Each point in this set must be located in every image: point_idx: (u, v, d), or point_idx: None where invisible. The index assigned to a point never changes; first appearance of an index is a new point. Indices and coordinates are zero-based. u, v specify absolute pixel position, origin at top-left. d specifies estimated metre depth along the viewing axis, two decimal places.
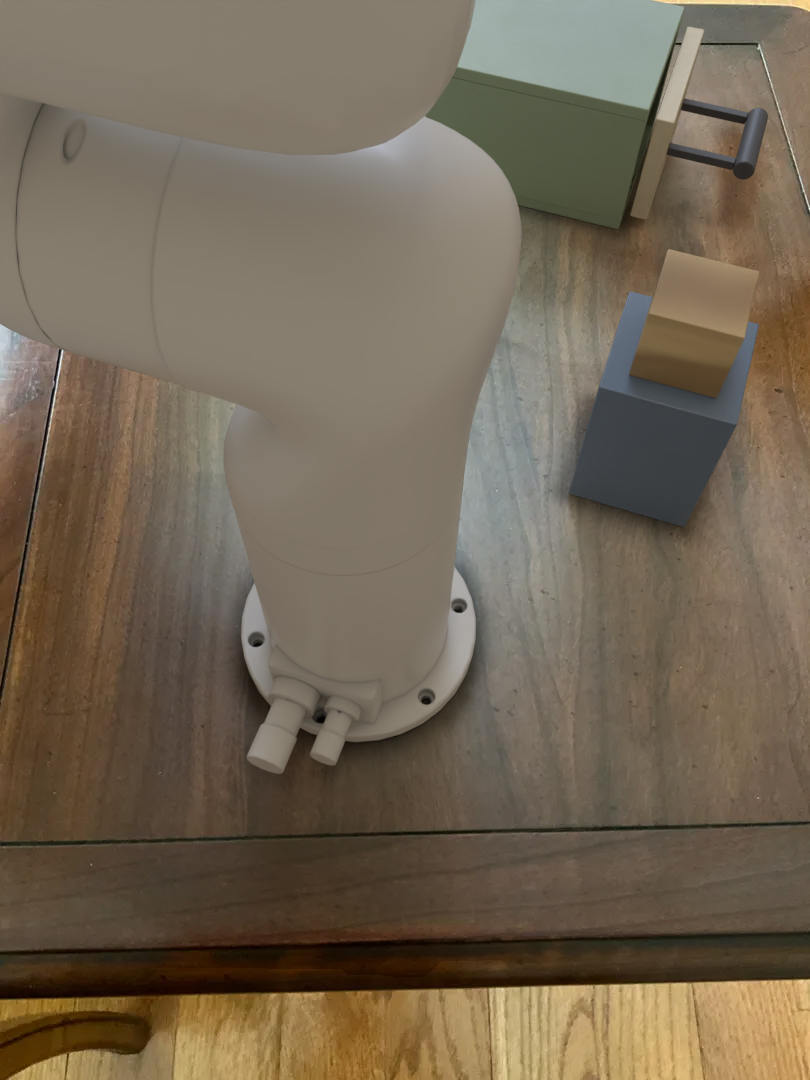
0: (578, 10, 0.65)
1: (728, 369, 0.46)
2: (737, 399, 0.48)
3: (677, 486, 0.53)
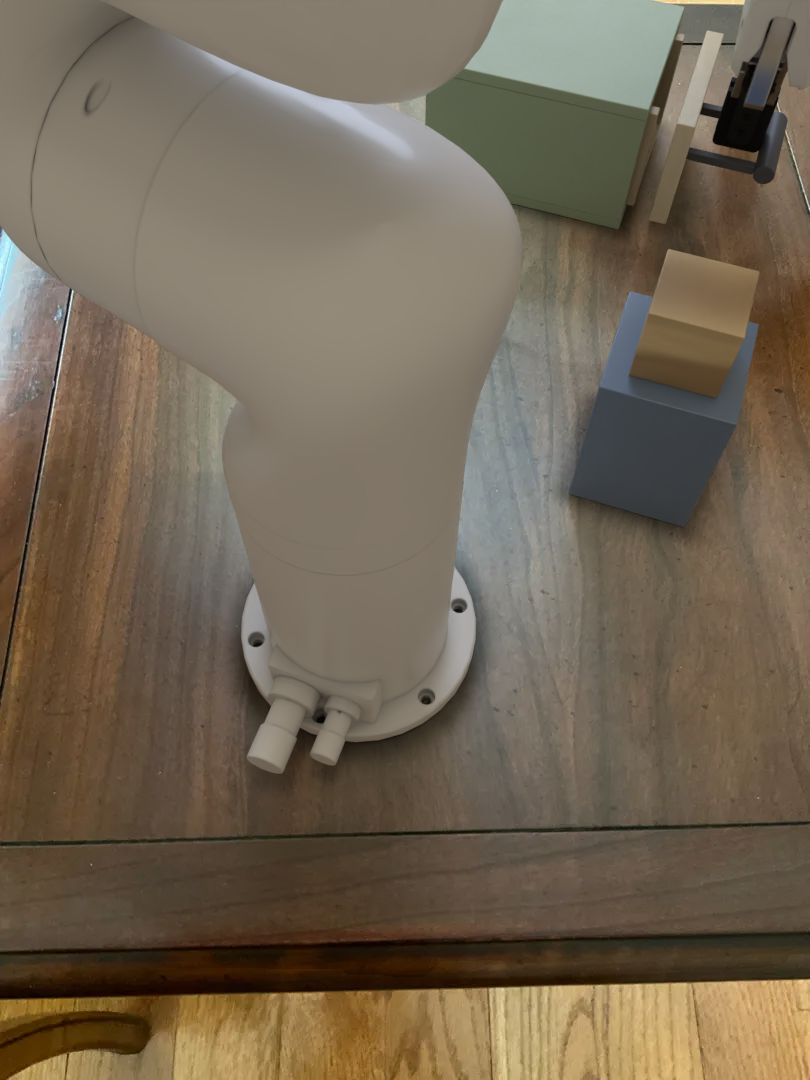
0: (578, 10, 0.65)
1: (728, 369, 0.46)
2: (737, 399, 0.48)
3: (677, 486, 0.53)
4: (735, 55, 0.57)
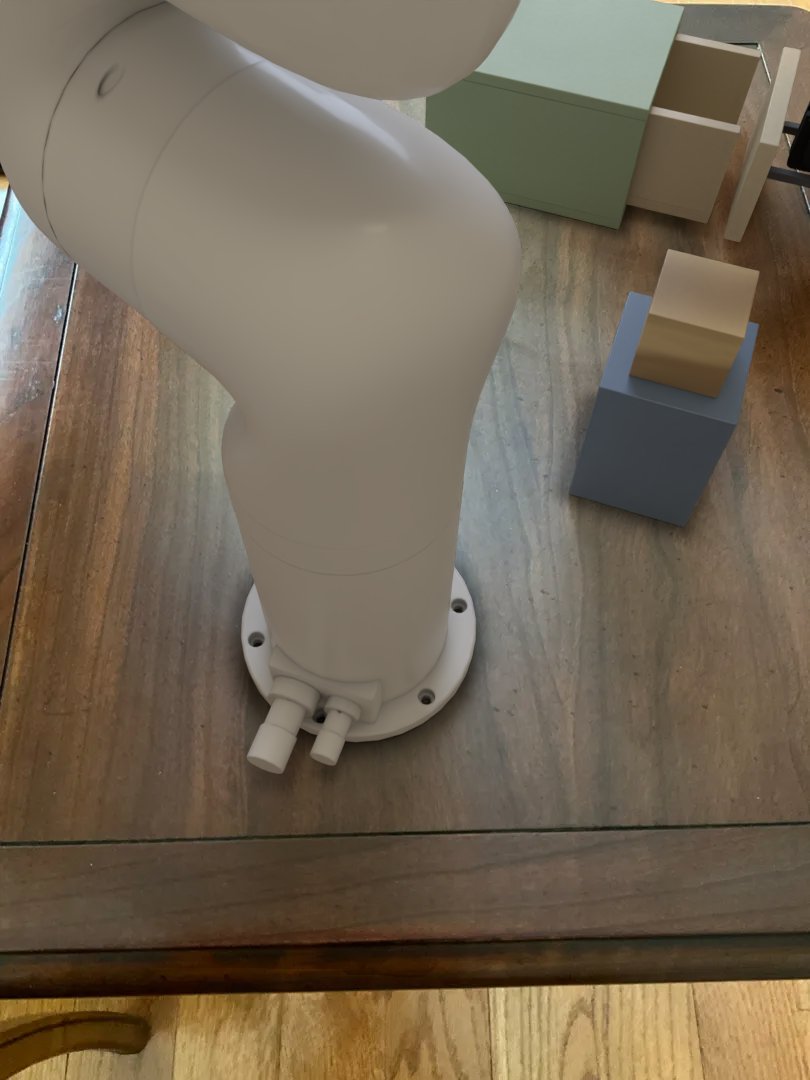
0: (578, 10, 0.65)
1: (728, 369, 0.46)
2: (737, 399, 0.48)
3: (677, 486, 0.53)
4: None
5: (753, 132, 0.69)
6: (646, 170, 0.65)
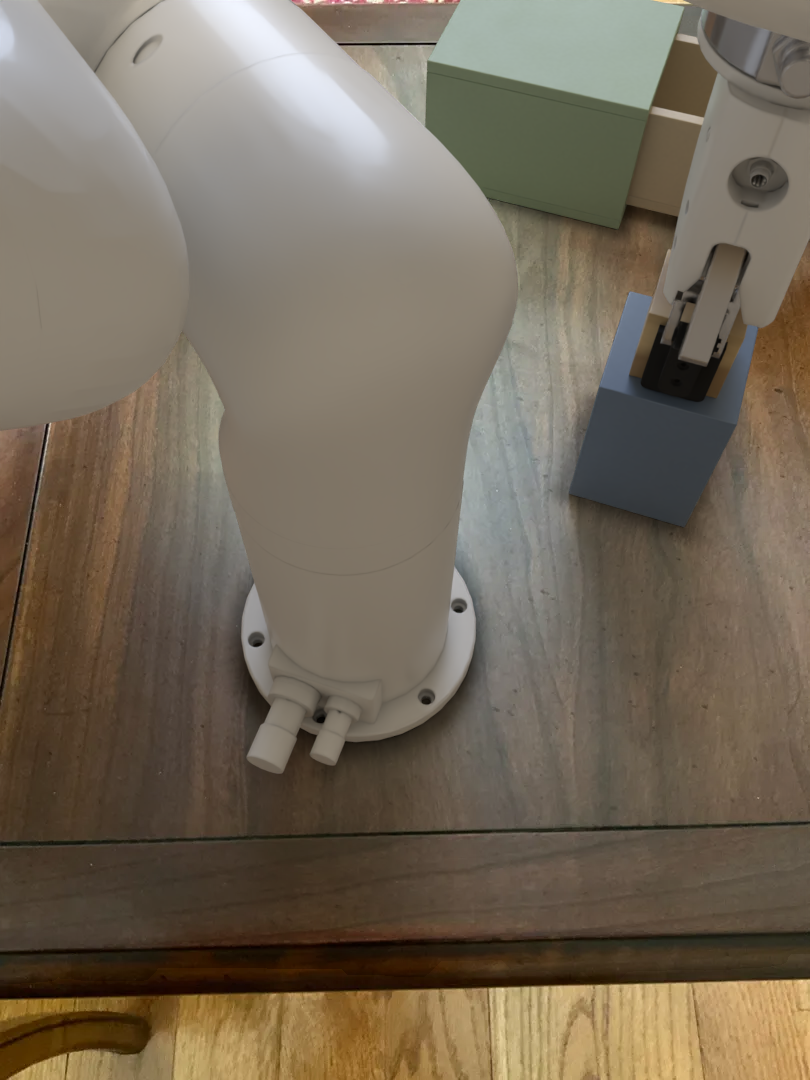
0: (578, 10, 0.65)
1: (728, 369, 0.46)
2: (737, 399, 0.48)
3: (677, 486, 0.53)
4: (667, 280, 0.40)
5: None
6: (646, 170, 0.65)
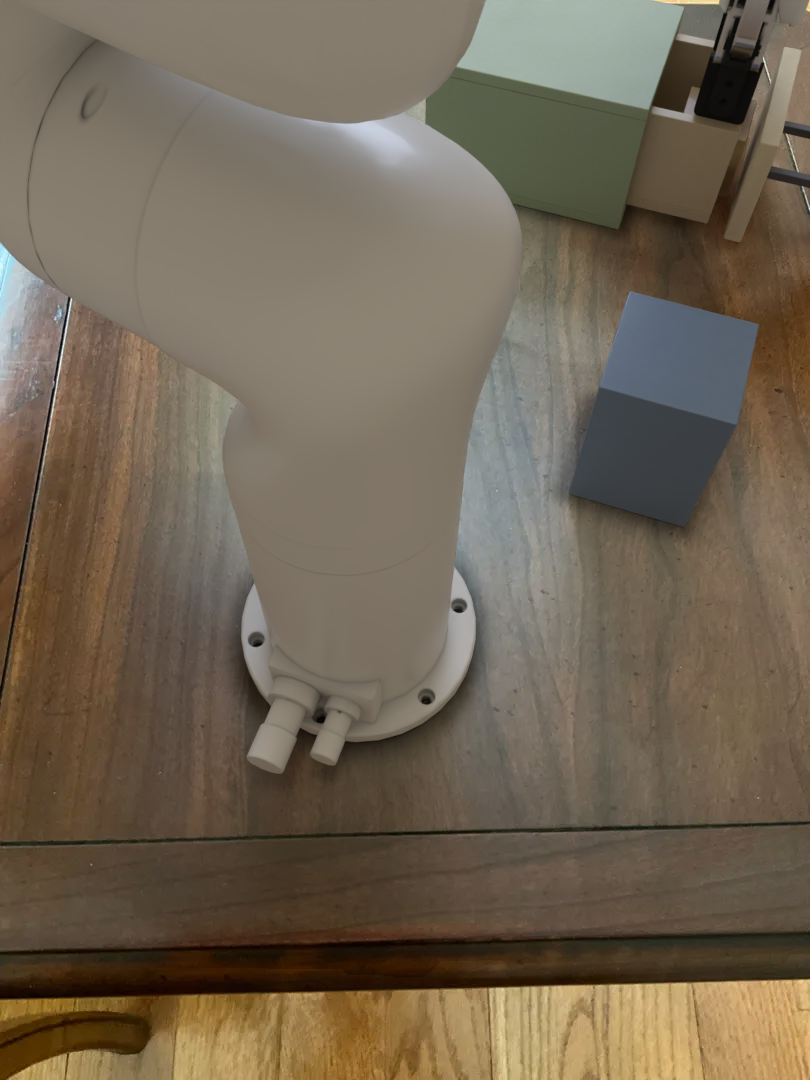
0: (578, 10, 0.65)
1: (735, 169, 0.65)
2: (737, 399, 0.48)
3: (677, 486, 0.53)
4: None
5: (753, 132, 0.69)
6: (646, 170, 0.65)
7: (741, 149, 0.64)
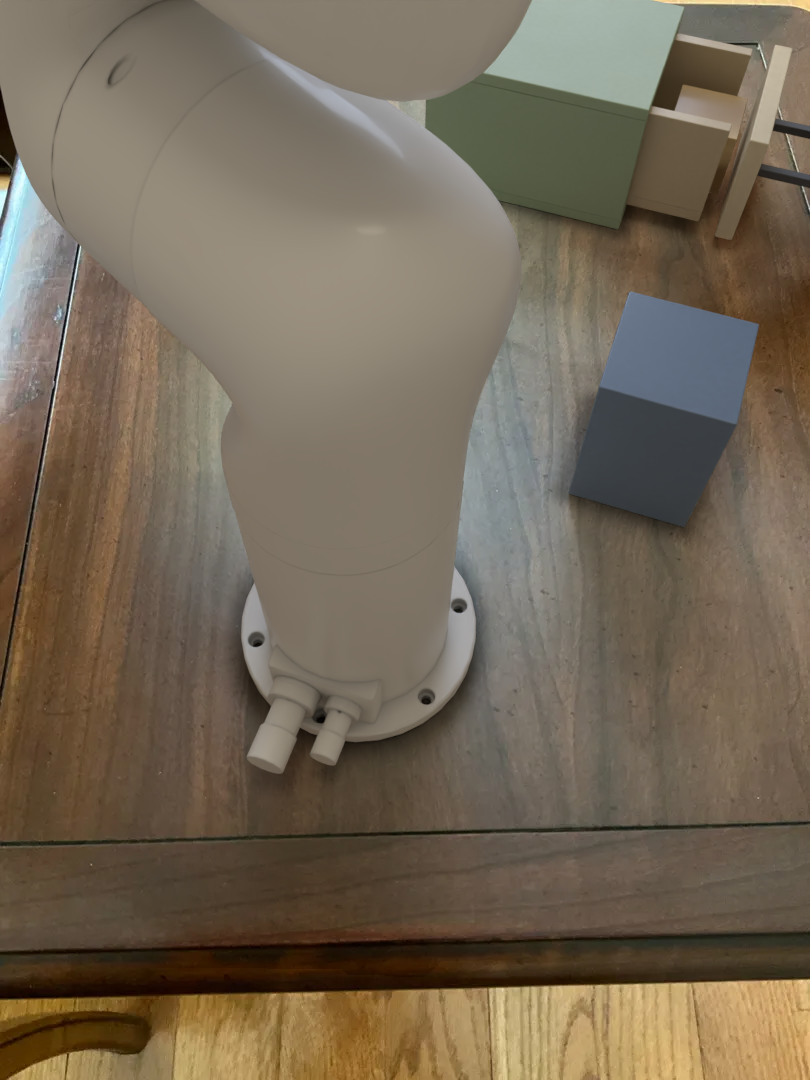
0: (578, 10, 0.65)
1: (725, 167, 0.65)
2: (737, 399, 0.48)
3: (677, 486, 0.53)
4: None
5: (745, 130, 0.69)
6: (637, 168, 0.65)
7: (732, 147, 0.64)
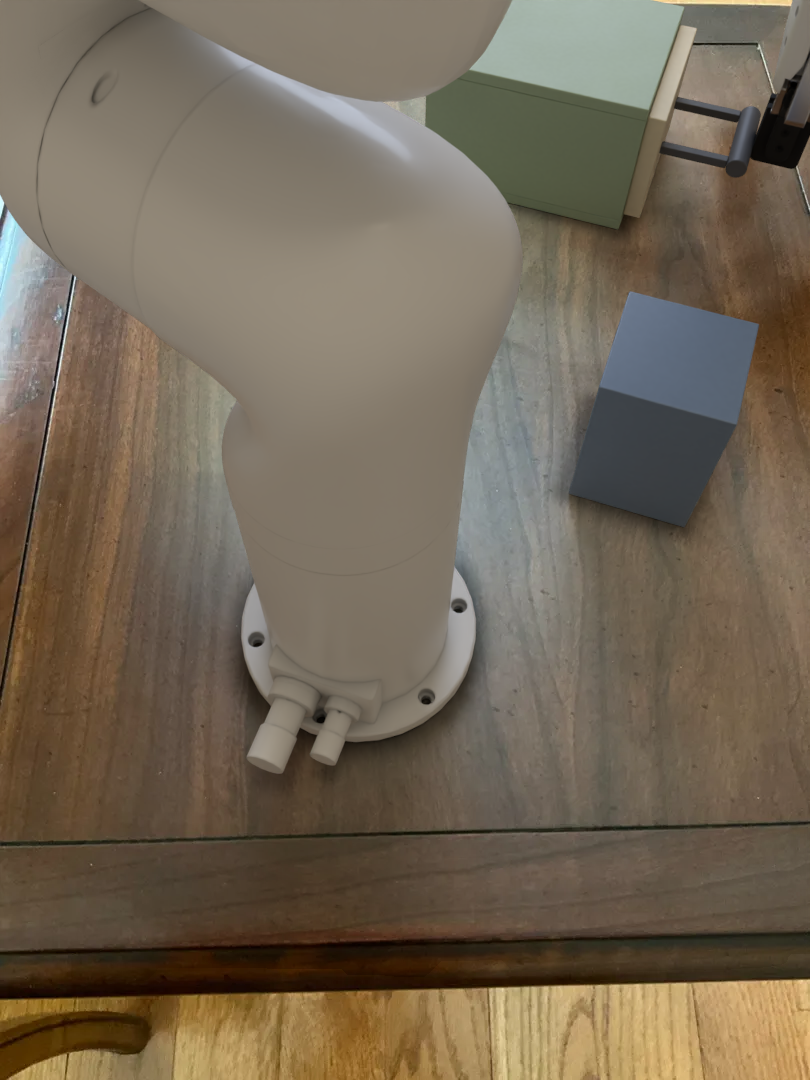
0: (578, 10, 0.65)
1: None
2: (737, 399, 0.48)
3: (677, 486, 0.53)
4: (777, 72, 0.57)
5: None
6: None
7: None
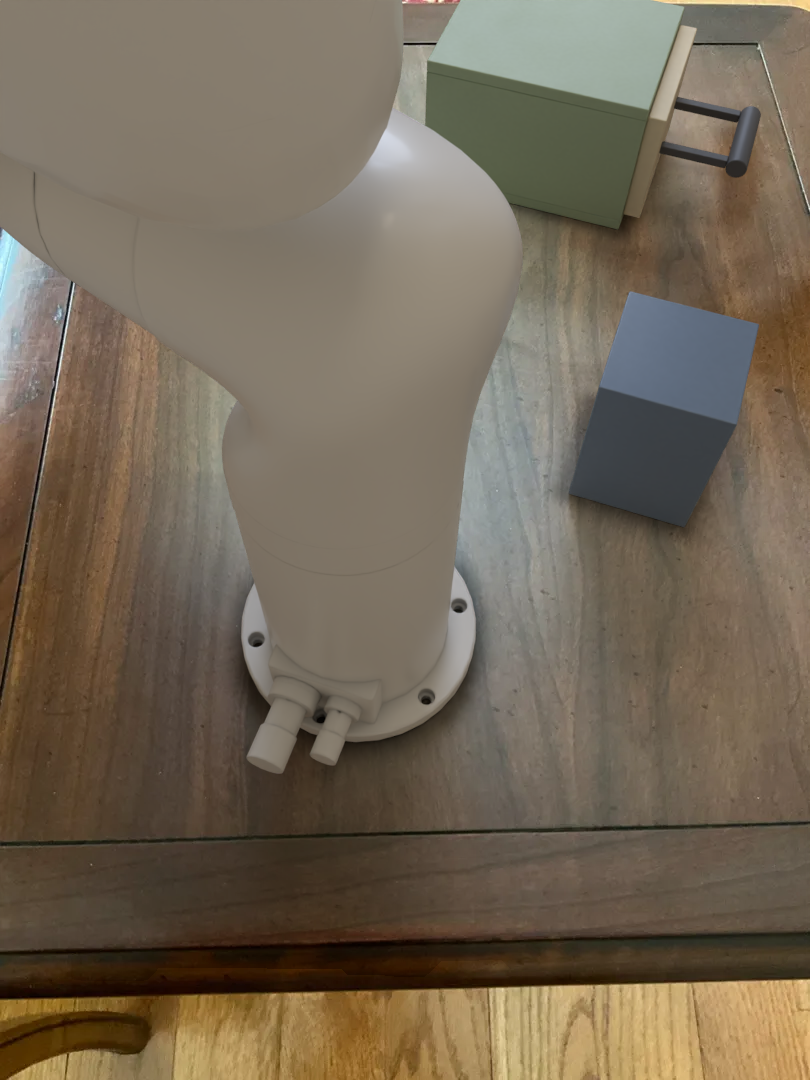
0: (578, 10, 0.65)
1: None
2: (737, 399, 0.48)
3: (677, 486, 0.53)
4: None
5: None
6: None
7: None
